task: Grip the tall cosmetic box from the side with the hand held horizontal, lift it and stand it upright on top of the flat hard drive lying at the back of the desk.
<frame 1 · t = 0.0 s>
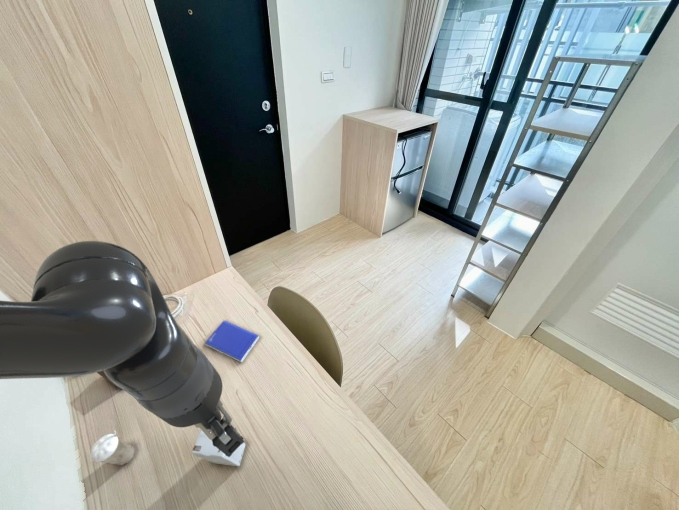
hand: (219, 420, 44), 22 cm above the table, tool pointing down, fingers open, 8 cm apart
hard drive: (233, 341, 78), on the table
walnut cube: (125, 374, 71), on the table
cosmetic box: (229, 454, 59), on the table
milkshake: (128, 453, 59), on the table
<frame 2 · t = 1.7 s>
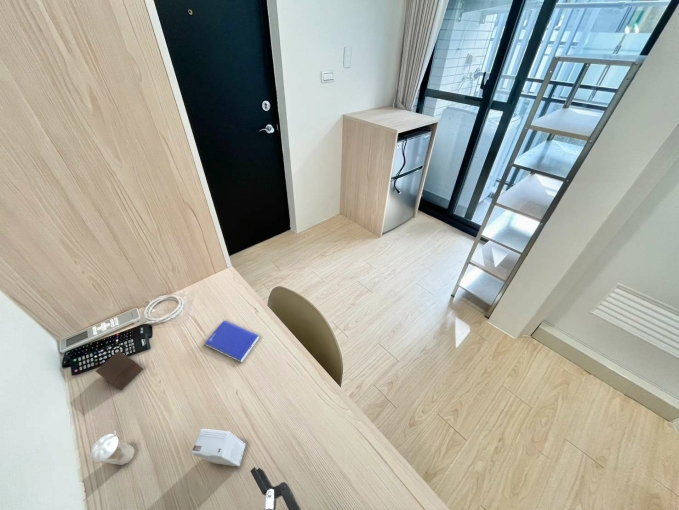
hand: (227, 494, 39), 20 cm above the table, tool horizontal, fingers open, 8 cm apart
nothing on the table moved.
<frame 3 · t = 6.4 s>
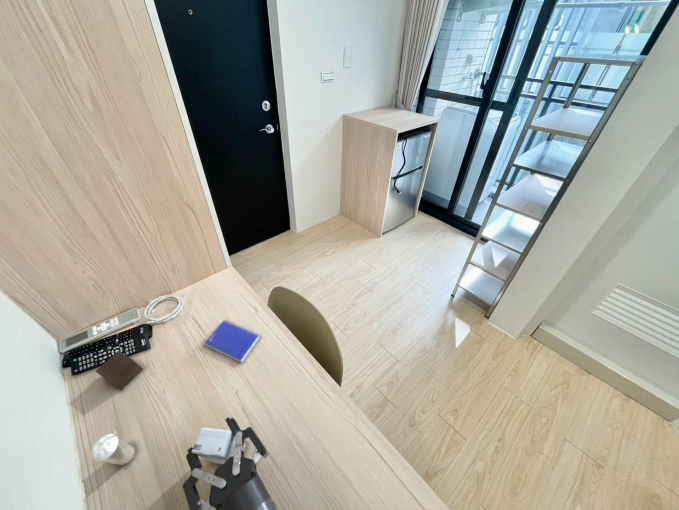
hand: (209, 433, 53), 10 cm above the table, tool horizontal, fingers closed on cosmetic box, 7 cm apart
cosmetic box: (229, 454, 59), on the table, touching gripper
everything else where it was.
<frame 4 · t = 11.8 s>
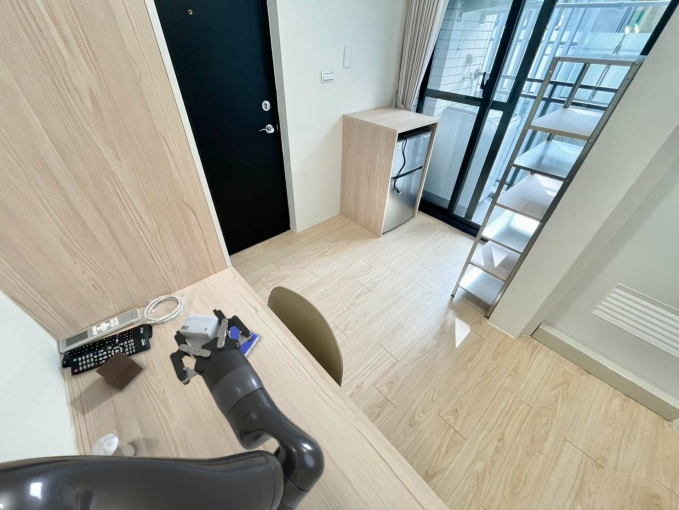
hand: (197, 322, 55), 24 cm above the table, tool horizontal, fingers closed on cosmetic box, 7 cm apart
cosmetic box: (217, 352, 61), point 13 cm above the table, touching gripper
everything else where it was.
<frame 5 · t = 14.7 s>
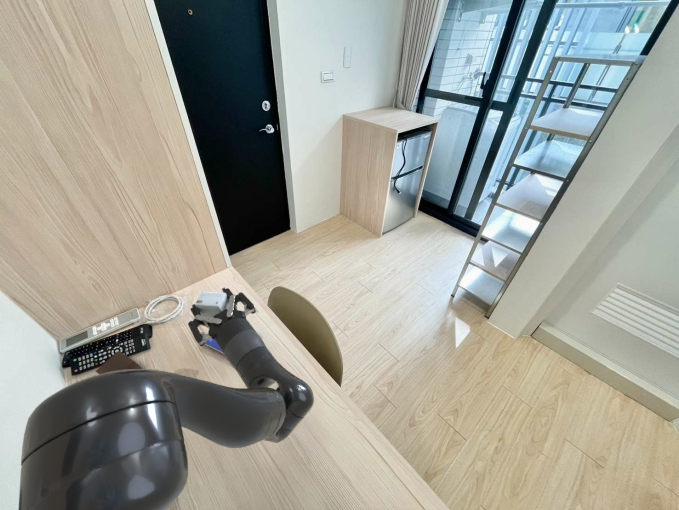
hand: (209, 298, 66), 19 cm above the table, tool horizontal, fingers closed on cosmetic box, 7 cm apart
cosmetic box: (225, 326, 72), point 8 cm above the table, touching gripper
everything else where it was.
when the fingers open (12 cm above the table, at t = 17.2 s): cosmetic box stays where it is, resting on hard drive.
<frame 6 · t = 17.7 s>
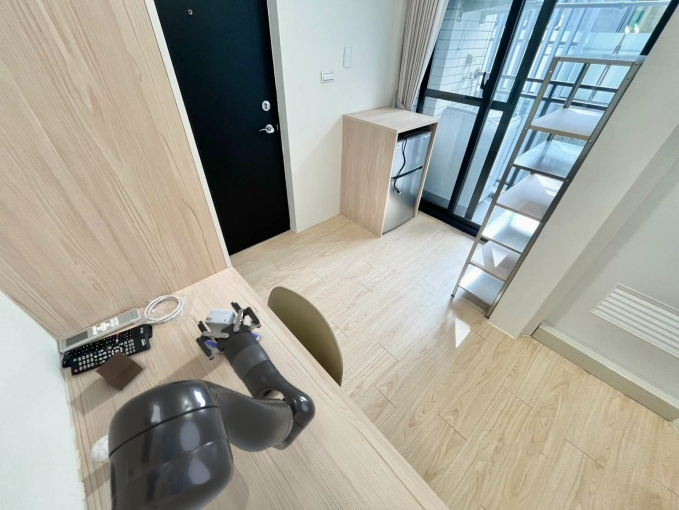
hand: (217, 313, 70), 12 cm above the table, tool horizontal, fingers open, 8 cm apart
hard drive: (233, 341, 78), on the table, touching cosmetic box
cosmetic box: (232, 339, 77), point 1 cm above the table, touching hard drive
everything else where it was.
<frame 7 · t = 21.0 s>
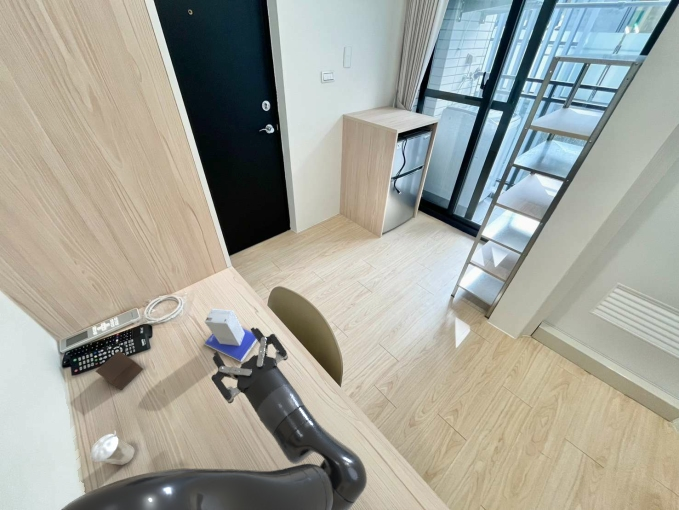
hand: (234, 341, 59), 18 cm above the table, tool horizontal, fingers open, 8 cm apart
nothing on the table moved.
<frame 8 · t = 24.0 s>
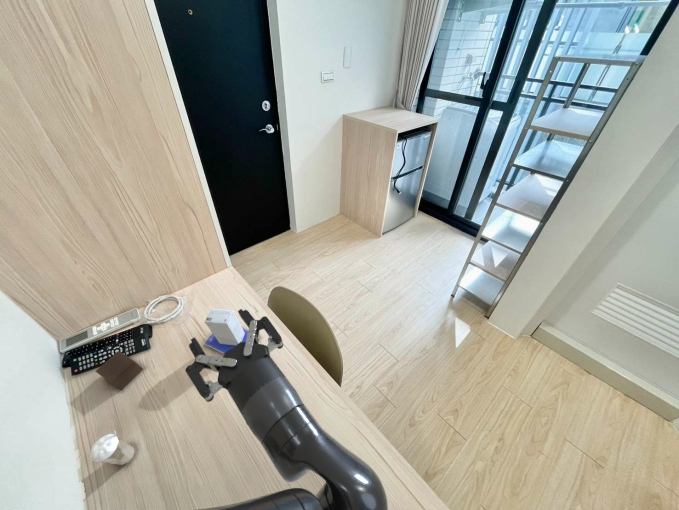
hand: (218, 325, 48), 30 cm above the table, tool horizontal, fingers open, 8 cm apart
nothing on the table moved.
at the end: cosmetic box inside the target area on the hard drive (0.2 cm from its centre), point 1.6 cm above the hard drive's base; cosmetic box tilted 0°; the gripper is holding nothing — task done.
